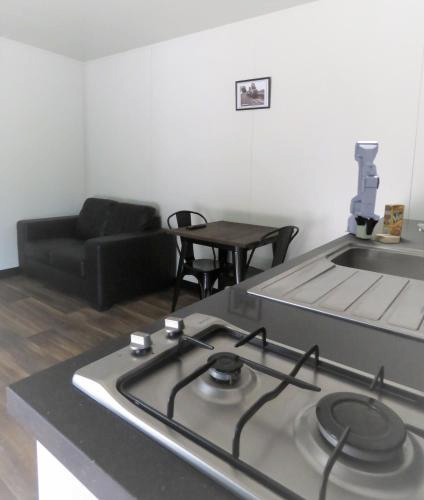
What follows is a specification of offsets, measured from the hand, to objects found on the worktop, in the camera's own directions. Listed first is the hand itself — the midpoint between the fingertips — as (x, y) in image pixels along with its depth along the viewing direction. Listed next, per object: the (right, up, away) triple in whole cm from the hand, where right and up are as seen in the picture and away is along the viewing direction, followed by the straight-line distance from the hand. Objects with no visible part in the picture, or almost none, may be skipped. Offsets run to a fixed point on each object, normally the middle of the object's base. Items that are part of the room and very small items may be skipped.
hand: (364, 234), depth 169 cm
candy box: (+16, -1, +8) cm, 17 cm away
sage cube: (0, -1, 0) cm, 2 cm away
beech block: (+8, -4, -4) cm, 10 cm away
